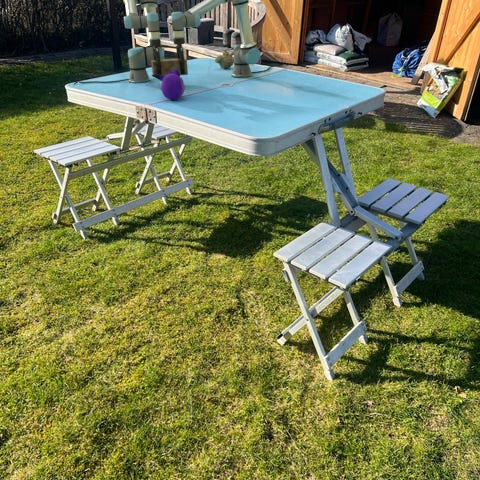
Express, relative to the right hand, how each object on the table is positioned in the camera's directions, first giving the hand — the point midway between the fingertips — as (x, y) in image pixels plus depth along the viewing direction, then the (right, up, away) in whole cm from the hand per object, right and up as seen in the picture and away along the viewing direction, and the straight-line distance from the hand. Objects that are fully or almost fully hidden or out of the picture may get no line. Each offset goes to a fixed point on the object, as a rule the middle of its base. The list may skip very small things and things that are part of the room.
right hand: (181, 72), depth 313 cm
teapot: (+30, +28, +66) cm, 78 cm away
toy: (-4, -25, -23) cm, 34 cm away
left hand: (-15, -2, -4) cm, 16 cm away
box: (-8, -2, -2) cm, 8 cm away
